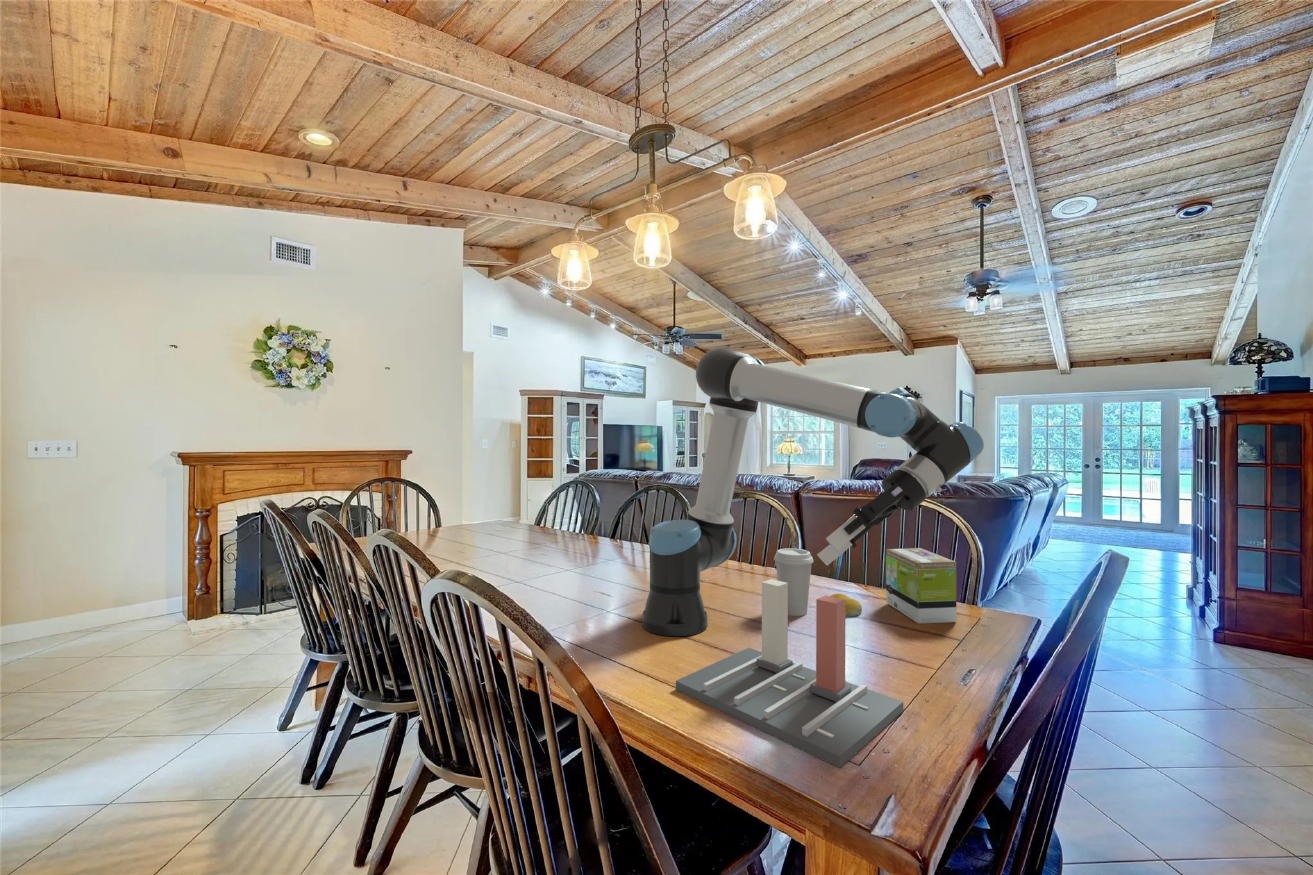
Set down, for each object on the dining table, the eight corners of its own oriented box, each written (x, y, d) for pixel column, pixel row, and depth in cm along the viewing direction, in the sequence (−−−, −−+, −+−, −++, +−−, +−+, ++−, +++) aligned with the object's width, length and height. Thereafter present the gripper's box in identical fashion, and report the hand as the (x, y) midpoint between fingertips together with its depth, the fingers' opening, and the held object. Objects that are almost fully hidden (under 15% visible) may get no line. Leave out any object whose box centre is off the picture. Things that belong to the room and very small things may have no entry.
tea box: (884, 604, 139) (884, 547, 139) (921, 603, 140) (921, 547, 140) (917, 624, 124) (917, 561, 124) (958, 623, 125) (958, 560, 125)
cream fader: (756, 665, 97) (756, 581, 97) (769, 658, 100) (769, 577, 100) (780, 674, 93) (780, 587, 93) (792, 667, 96) (792, 583, 96)
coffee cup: (815, 619, 127) (815, 556, 127) (774, 616, 129) (774, 554, 129) (811, 607, 136) (811, 548, 136) (773, 604, 138) (773, 546, 138)
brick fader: (810, 691, 87) (810, 598, 87) (822, 683, 90) (823, 593, 90) (839, 702, 83) (839, 605, 83) (851, 694, 86) (851, 600, 86)
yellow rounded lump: (842, 619, 128) (842, 602, 128) (819, 608, 136) (819, 592, 136) (870, 615, 131) (870, 598, 131) (845, 604, 139) (845, 589, 139)
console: (675, 689, 92) (675, 674, 92) (748, 654, 106) (748, 642, 106) (839, 767, 70) (839, 748, 70) (903, 710, 85) (903, 695, 85)
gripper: (949, 475, 88) (852, 554, 86) (909, 516, 111) (832, 580, 108) (913, 443, 91) (819, 519, 89) (881, 489, 114) (806, 551, 111)
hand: (826, 552), depth 98 cm, fingers open, 13 cm apart
